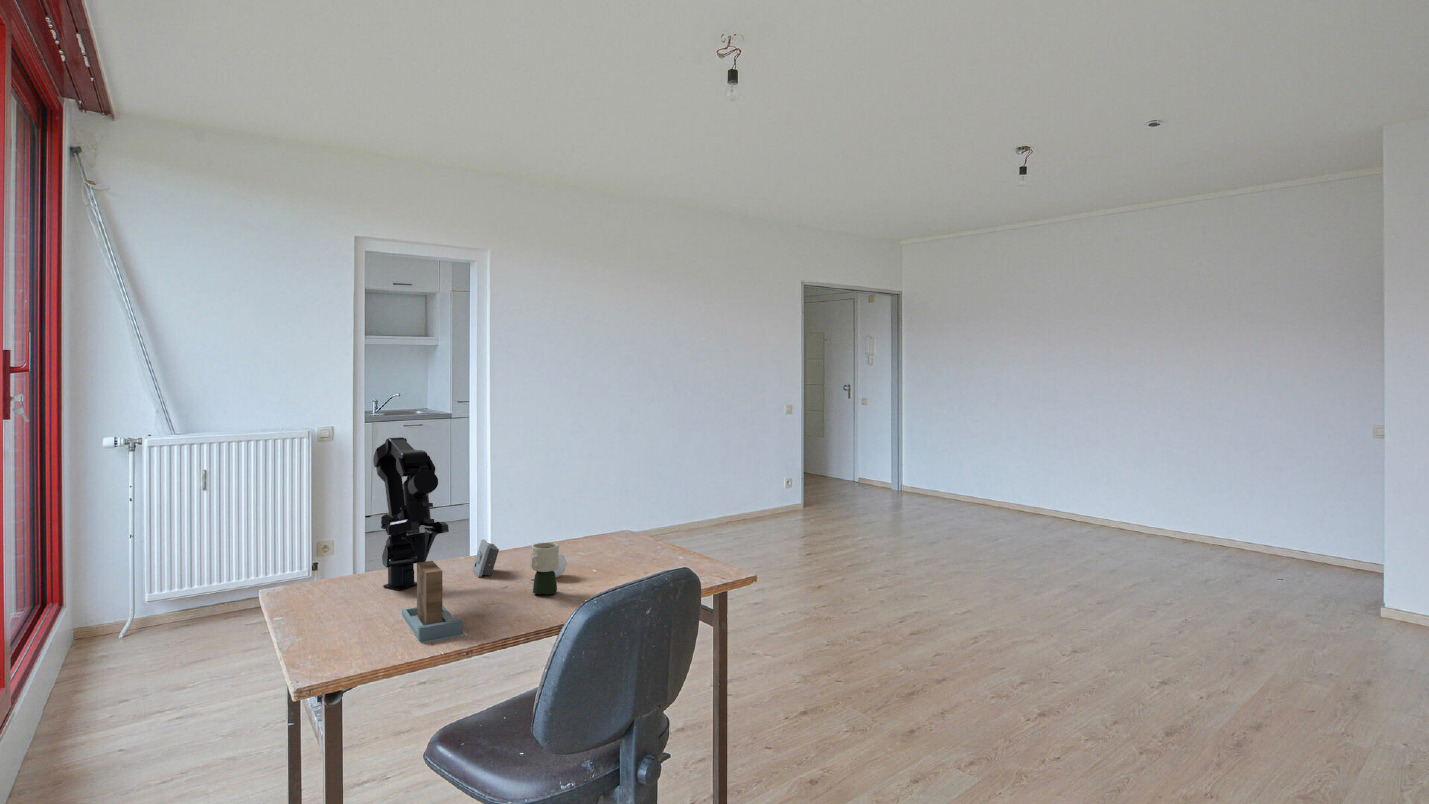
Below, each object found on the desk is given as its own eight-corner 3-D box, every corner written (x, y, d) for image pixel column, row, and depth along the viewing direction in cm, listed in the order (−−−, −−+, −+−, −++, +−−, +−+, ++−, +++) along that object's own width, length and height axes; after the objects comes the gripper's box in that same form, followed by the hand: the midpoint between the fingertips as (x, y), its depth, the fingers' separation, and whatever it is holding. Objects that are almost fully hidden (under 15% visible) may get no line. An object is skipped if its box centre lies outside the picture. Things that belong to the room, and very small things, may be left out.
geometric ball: (548, 585, 210) (546, 559, 215) (572, 577, 209) (570, 551, 213) (534, 578, 204) (532, 551, 208) (559, 570, 203) (557, 543, 207)
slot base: (401, 617, 174) (401, 602, 173) (441, 611, 179) (441, 596, 178) (420, 646, 156) (420, 629, 156) (463, 638, 161) (463, 622, 161)
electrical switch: (472, 570, 215) (475, 538, 215) (490, 569, 218) (493, 538, 218) (478, 578, 207) (481, 545, 207) (496, 578, 209) (500, 545, 209)
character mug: (546, 586, 200) (546, 539, 200) (568, 589, 197) (568, 542, 197) (520, 597, 190) (521, 548, 190) (543, 601, 187) (543, 551, 187)
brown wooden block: (417, 616, 173) (416, 562, 172) (432, 614, 174) (432, 560, 174) (426, 629, 164) (426, 572, 164) (442, 627, 166) (442, 570, 166)
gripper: (407, 508, 193) (412, 567, 190) (364, 504, 175) (369, 570, 172) (446, 500, 192) (452, 560, 189) (407, 495, 174) (413, 561, 171)
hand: (422, 563), depth 180 cm, fingers closed
